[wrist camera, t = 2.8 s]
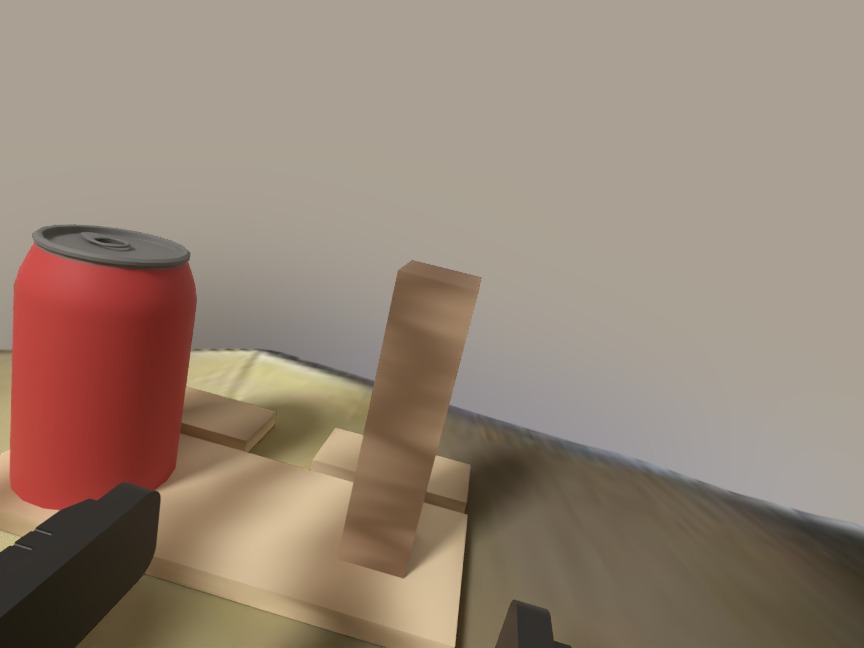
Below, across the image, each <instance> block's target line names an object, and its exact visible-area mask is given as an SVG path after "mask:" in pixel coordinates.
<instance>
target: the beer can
mask: <svg viewBox="0 0 864 648" xmlns="http://www.w3.org/2000/svg"><path fill="white" fill-rule="evenodd" d="M32 237H33V240H34V242H35V243H34V244H33V246H32V247H31V249H30V251H29V252H28V254H27V256H26V258H25V259H24V261H23V263H22V265H21V266H20V268H19V271H18V274H17V277H16V280H15V284H14V306H13V307H14V308H13V347H12V390H11V432H10V474H9V476H10V484H11V489H12V490H13V491H14V492H15V493H16V494H17V495H18V496H19V497H20V498H21V499H22V500H23V501H25V502H28V503H30V504H33V505H35V506H38V507H41V508H43V509H52V510H62V509H64V508H67V507H69V506H72V505H74V504H77V503H79V502H82V501H84V500H87V499H89V498H90V499H94V500H98V499H100V498H101V497H102V496H104V495H105V494H106V493H108V492H109V491H110V490H112V489H113V488H114V487H116V486H117V485H119V484H120V483H123V482H128V483H132V484H135V485H138V486H142V487H145V488H148V489H152V490H155V489H156V488H158V487H159V486H160V485H162V484H163V483H164V482H166V481H167V480H168V478H169V477H170V475H171V474H172V473H173V471H174V470H175V468H176V460H177V453H178V445H179V437H180V429H181V421H182V414H183V406H184V398H185V390H186V382H187V375H188V367H189V359H190V351H191V342H192V335H193V327H194V320H195V312H196V302H197V297H196V288H195V283H194V279H193V276H192V272H191V269H190V266H189V263H188V261H189V259H190V252H189V251H188V250H187V249H186V248H185V247H183V246H182V245H180V244H178V243H175V242H173V241H171V240H167V239H164V238H161V237H158V236H154V235H149V234H145V233H141V232H136V231H130V230H124V229H118V228H110V227H101V226H89V225H53V226H46V227H42V228H40V229H39V230H37V231H35V232H34V233H32Z"/></svg>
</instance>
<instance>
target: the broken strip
mask: <svg viewBox="0 0 864 648" xmlns="http://www.w3.org/2000/svg"><path fill="white" fill-rule="evenodd" d="M276 414H277V411H273V410H270V409H266V408H263V407H259V406H255V405H252V404H248V403H244V402H241V401H237V400H234V399H230V398H226V397H223V396H219V395H215V394H212V393H208V392H205V391H201V390H197V389H194V388H190V387H186V390H185V398H184V406H183V414H182V421H181V429H180V433H181V434H184V435H188V436H191V437H195V438H198V439H202V440H205V441H209V442H212V443H216V444H219V445H223V446H227V447H230V448H234V449H237V450H241V451H244V452H249V451H250V450H251V449H252V448H253V447H254V446H255V445H256V444H257V443H258V442H259V441H260V440H261V439H262V438H263V437H264V436H265V435H266V433H267V432H268V431H269V430H270V429H271V428H272V427H273V426H274V425H275V421H276ZM362 439H363V435H360V434H357V433H353V432H349V431H346V430H342V429H339V428H335V429H334V430H333V432H332V433H331V435H330V436H329V437H328V439H327V440H326V442H325V443H324V445H323V446H322V447H321V449H320V450H319V452H318V453H317V454H316V456H315V457H314V459H313V462H312V467H311V471H315V472H318V473H322V474H325V475H329V476H332V477H336V478H340V479H343V480H347V481H350V482H354V477H355V473H356V468H357V463H358V458H359V454H360V449H361V444H362ZM470 467H471V465H469V464H465V463H462V462H458V461H455V460H451V459H447V458H444V457H440V456H435V460H434V464H433V468H432V472H431V476H430V480H429V483H428V487H427V491H426V495H425V499H424V503H428V504H431V505H435V506H438V507H442V508H445V509H449V510H453V511H456V512H460V513H463V514H464V511H465V508H466V504H467V496H468V487H469V477H470Z"/></svg>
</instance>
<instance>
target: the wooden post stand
mask: <svg viewBox="0 0 864 648" xmlns="http://www.w3.org/2000/svg"><path fill="white" fill-rule="evenodd" d="M480 282H481V277H478V276H473V275H470V274H466V273H462V272H458V271H454V270H449V269H445V268H442V267H437V266H434V265H430V264H426V263H421V262H417V261H414V260H412V261H410V262H409V263H408V264H406V265H405V266H403V267H402V268H401V269H400V270H398V273H397V278H396V283H395V287H394V292H393V297H392V302H391V306H390V312H389V316H388V321H387V325H386V330H385V335H384V340H383V345H382V349H381V354H380V359H379V363H378V368H377V373H376V378H375V382H374V387H373V392H372V397H371V401H370V406H369V411H368V416H367V420H366V425H365V430H364V435H363V439H362V444H361V449H360V454H359V458H358V463H357V468H356V473H355V477H354V482H350V481H347V480H343V479H340V478H336V477H332V476H329V475H325V474H322V473H318V472H315V471H311V470H308V469H304V468H301V467H297V466H294V465H290V464H287V463H283V462H279V461H276V460H272V459H269V458H265V457H262V456H258V455H255V454H251V453H248V452H244V451H241V450H237V449H234V448H230V447H227V446H223V445H219V444H216V443H212V442H209V441H205V440H202V439H198V438H195V437H191V436H188V435H184V434H181V433H180V437H179V445H178V453H177V460H176V468H175V470H174V471H173V473H172V474H171V475H170V477H169V478H168V480H167V481H166V482H164V483H163V484H162V485H160V486H159V487H158V488H156V489H155V491H158V492H159V493H160V496H161V503H160V513H159V523H158V533H157V544H156V550H155V554H154V556H153V559H152V561H151V563H150V565H149V567H148V569H147V570H146V572H145V573H144V574H147V575H150V576H153V577H157V578H160V579H163V580H166V581H170V582H173V583H176V584H180V585H183V586H186V587H189V588H193V589H196V590H199V591H202V592H206V593H209V594H212V595H216V596H219V597H222V598H225V599H229V600H232V601H235V602H239V603H242V604H245V605H248V606H252V607H255V608H258V609H261V610H265V611H268V612H271V613H275V614H278V615H281V616H284V617H288V618H291V619H294V620H297V621H301V622H304V623H307V624H311V625H314V626H317V627H320V628H324V629H327V630H330V631H334V632H337V633H340V634H343V635H347V636H350V637H353V638H356V639H360V640H363V641H366V642H370V643H373V644H376V645H379V646H383V647H386V648H455V641H456V631H457V621H458V610H459V600H460V590H461V579H462V569H463V558H464V548H465V538H466V527H467V517H468V515H467V514H463V513H460V512H456V511H453V510H449V509H445V508H442V507H438V506H435V505H431V504H428V503H424V499H425V495H426V491H427V487H428V483H429V480H430V476H431V472H432V468H433V464H434V460H435V456H436V453H437V449H438V445H439V441H440V437H441V433H442V430H443V426H444V422H445V418H446V414H447V410H448V407H449V403H450V399H451V394H452V391H453V387H454V384H455V380H456V376H457V372H458V368H459V364H460V361H461V356H462V353H463V349H464V345H465V341H466V337H467V334H468V330H469V326H470V322H471V318H472V315H473V311H474V307H475V303H476V299H477V295H478V291H479V287H480ZM9 474H10V449H9V450H7V451H5V452H3V453H1V454H0V530H3V531H6V532H9V533H12V534H16V535H19V536H22V537H23V536H24V535H26V534H27V533H29V532H30V531H34V530H35V529H36V527H37V526H38V525H40V524H41V523H43V522H44V521H46V520H47V519H48V518H50V517H51V516H53V515H54V514H55V513H57V512H58V511H60V510H52V509H43V508H41V507H38V506H35V505H33V504H30V503H28V502H25V501H23V500H22V499H21V498H20V497H19V496H18V495H17V494H16V493H15V492H14V491H13V490H12V489H11V484H10V476H9Z"/></svg>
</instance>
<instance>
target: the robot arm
mask: <svg viewBox="0 0 864 648" xmlns="http://www.w3.org/2000/svg"><path fill="white" fill-rule="evenodd" d="M160 503H161V496H160V493H159V492H158V491H155V490H152V489H148V488H145V487H142V486H138V485H135V484H132V483H128V482H123V483H120V484H119V485H117V486H116V487H114V488H113V489H112V490H110V491H109V492H108V493H106V494H105V495H104V496H102V497H101V498H100V499H98V500H94V499H90V498H89V499H87V500H84V501H82V502H79V503H77V504H74V505H72V506H69V507H67V508H64V509H62V510H60V511H58V512H57V513H55V514H54V515H53V516H51V517H50V518H48V519H47V520H46V521H44V522H43V523H41V524H40V525H38V526H37V527H36V529H35V530H34V531H30V532H29V533H27V534H26V535H24V536H23V537H21V538H20V539H19V540H17V541H16V542H15V544H14V545H13V546H9V547H7V548H6V549H4V550H3V551H2V552H0V648H75V647H76V646H77V645H78V644H79V643H80V642H81V641H82V640H83V639H84V638H85V636H86V635H87V634H88V633H89V632H90V631H91V630H92V629H93V628H94V627H95V626H96V625H97V624H98V623H99V622H100V621H101V620H102V618H103V617H104V616H105V615H106V614H107V613H108V612H109V611H110V610H111V609H112V608H113V607H114V606H115V605H116V604H117V603H118V602H119V600H120V599H121V598H122V597H123V596H124V595H125V594H126V593H127V592H128V591H129V590H130V589H131V588H132V587H133V586H134V585H135V584H136V583H137V581H138V580H139V579H140V578H141V577H142V576H143V574H144V573H145V572H146V570H147V569H148V567H149V565H150V563H151V561H152V559H153V556H154V554H155V550H156V544H157V533H158V523H159V513H160ZM495 648H571V646H569V645H566V644H563V643H559V642H556V641H554V640H553V632H552V624H551V617H550V613H549V611H548V610H547V609H544V608H540V607H537V606H534V605H530V604H527V603H524V602H520V601H517V600H513V601H512V602H511V604H510V607H509V609H508V612H507V615H506V618H505V621H504V624H503V627H502V629H501V632H500V635H499V638H498V641H497V644H496V647H495Z"/></svg>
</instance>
